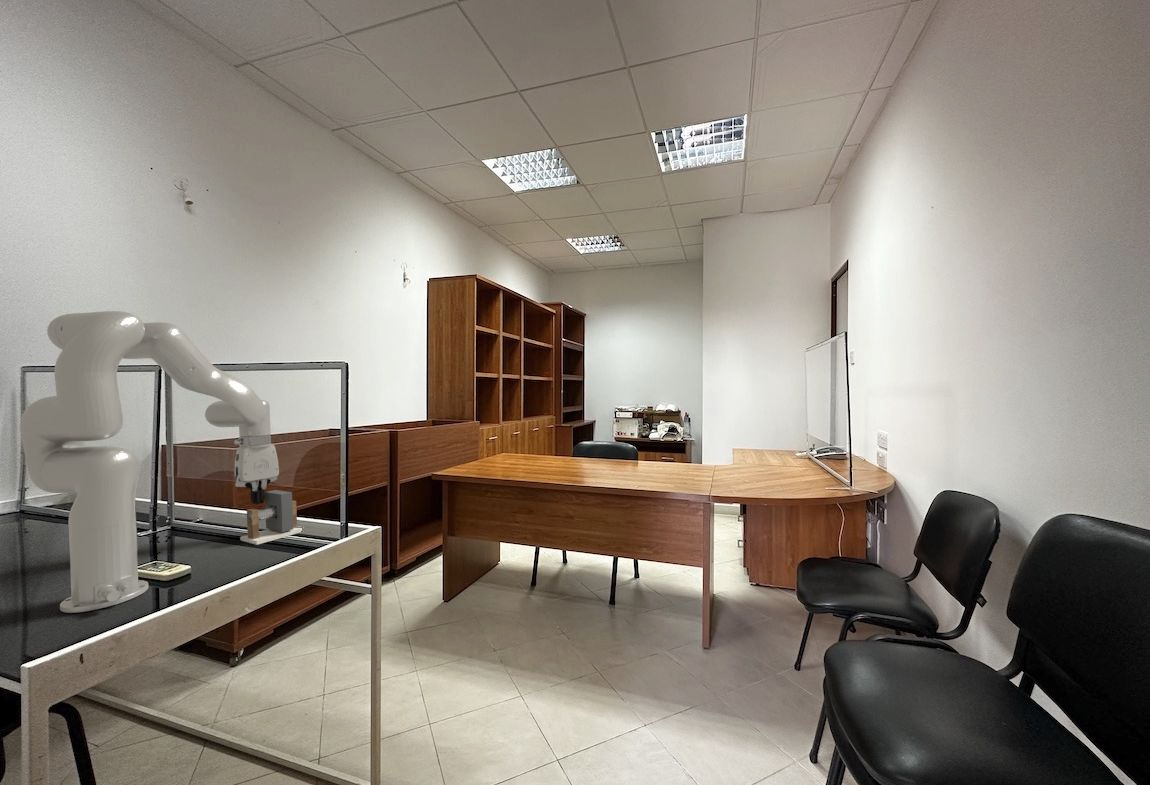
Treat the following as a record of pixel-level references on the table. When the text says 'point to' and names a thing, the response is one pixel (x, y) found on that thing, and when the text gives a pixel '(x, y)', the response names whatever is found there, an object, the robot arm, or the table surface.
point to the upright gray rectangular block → (280, 510)
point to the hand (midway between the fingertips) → (257, 503)
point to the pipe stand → (269, 534)
